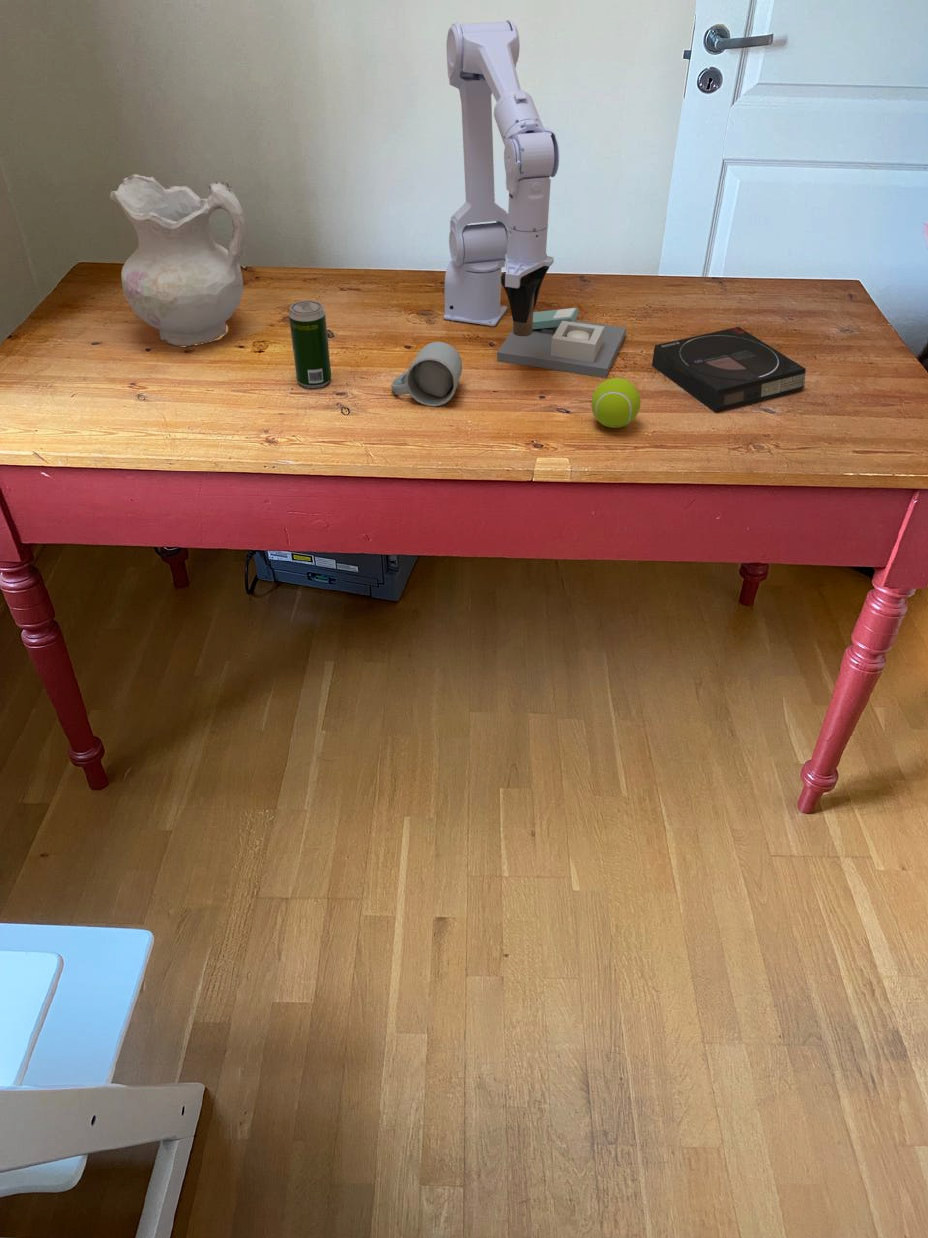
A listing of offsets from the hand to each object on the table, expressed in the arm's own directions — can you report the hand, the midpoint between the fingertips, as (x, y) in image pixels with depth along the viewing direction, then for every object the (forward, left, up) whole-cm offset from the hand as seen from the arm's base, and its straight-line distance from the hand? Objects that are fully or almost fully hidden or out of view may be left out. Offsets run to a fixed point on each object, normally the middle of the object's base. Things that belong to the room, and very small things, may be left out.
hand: (523, 316), depth 143 cm
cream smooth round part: (+7, +8, -7) cm, 13 cm away
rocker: (+1, +14, -6) cm, 16 cm away
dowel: (0, 0, -2) cm, 2 cm away
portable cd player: (+31, +9, -10) cm, 34 cm away
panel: (+4, +11, -9) cm, 15 cm away
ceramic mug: (-12, -11, -10) cm, 19 cm away
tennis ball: (+17, -11, -10) cm, 23 cm away
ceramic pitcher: (-56, -3, -10) cm, 57 cm away
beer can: (-30, -13, -10) cm, 34 cm away
